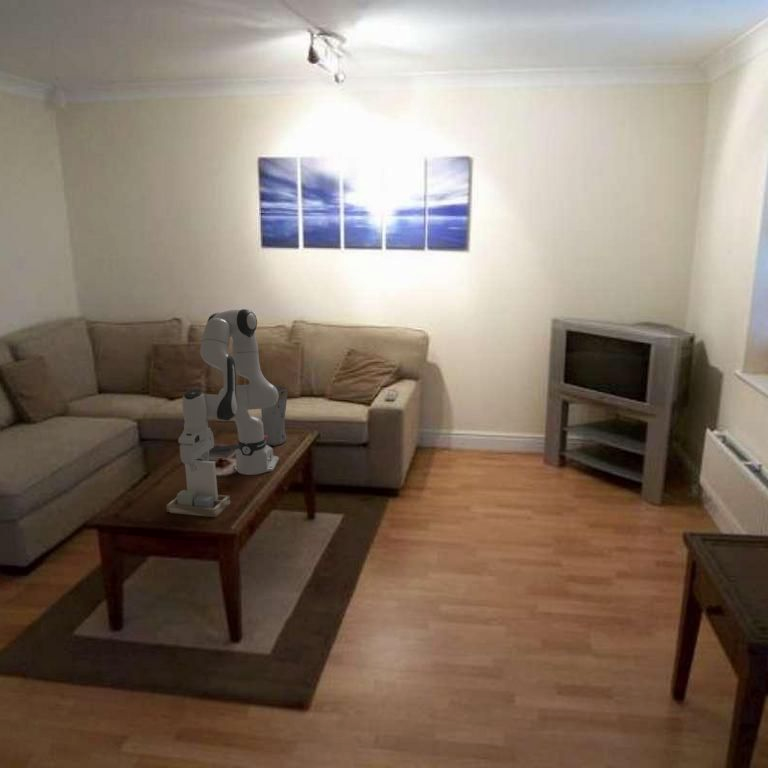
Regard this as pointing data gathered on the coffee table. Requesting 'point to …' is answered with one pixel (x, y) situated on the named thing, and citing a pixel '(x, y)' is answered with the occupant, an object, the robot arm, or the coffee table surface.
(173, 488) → the coffee table surface
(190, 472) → the tall board
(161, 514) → the coffee table surface
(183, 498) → the sage offcut
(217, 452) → the picture frame
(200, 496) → the slate offcut
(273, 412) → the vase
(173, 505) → the birch rack
